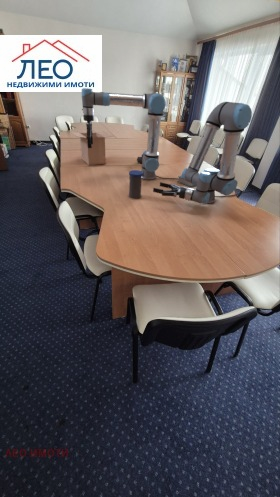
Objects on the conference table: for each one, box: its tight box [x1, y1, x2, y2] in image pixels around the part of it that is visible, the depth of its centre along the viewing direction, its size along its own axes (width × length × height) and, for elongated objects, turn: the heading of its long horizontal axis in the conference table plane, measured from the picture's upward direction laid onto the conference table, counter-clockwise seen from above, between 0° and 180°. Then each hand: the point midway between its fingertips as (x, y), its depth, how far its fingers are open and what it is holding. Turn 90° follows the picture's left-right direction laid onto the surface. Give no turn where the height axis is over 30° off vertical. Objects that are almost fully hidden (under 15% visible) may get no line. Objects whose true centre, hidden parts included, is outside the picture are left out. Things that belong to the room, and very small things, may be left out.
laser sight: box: [136, 153, 143, 164], centre depth 238 cm, size 10×22×10 cm, turn 78°
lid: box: [128, 169, 143, 177], centre depth 159 cm, size 10×10×2 cm
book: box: [177, 174, 196, 188], centre depth 201 cm, size 23×16×5 cm
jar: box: [128, 175, 143, 200], centre depth 164 cm, size 9×9×18 cm
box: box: [70, 129, 114, 166], centre depth 229 cm, size 44×36×27 cm
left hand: (90, 146), depth 173 cm, fingers open, 13 cm apart
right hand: (156, 186), depth 156 cm, fingers open, 13 cm apart
